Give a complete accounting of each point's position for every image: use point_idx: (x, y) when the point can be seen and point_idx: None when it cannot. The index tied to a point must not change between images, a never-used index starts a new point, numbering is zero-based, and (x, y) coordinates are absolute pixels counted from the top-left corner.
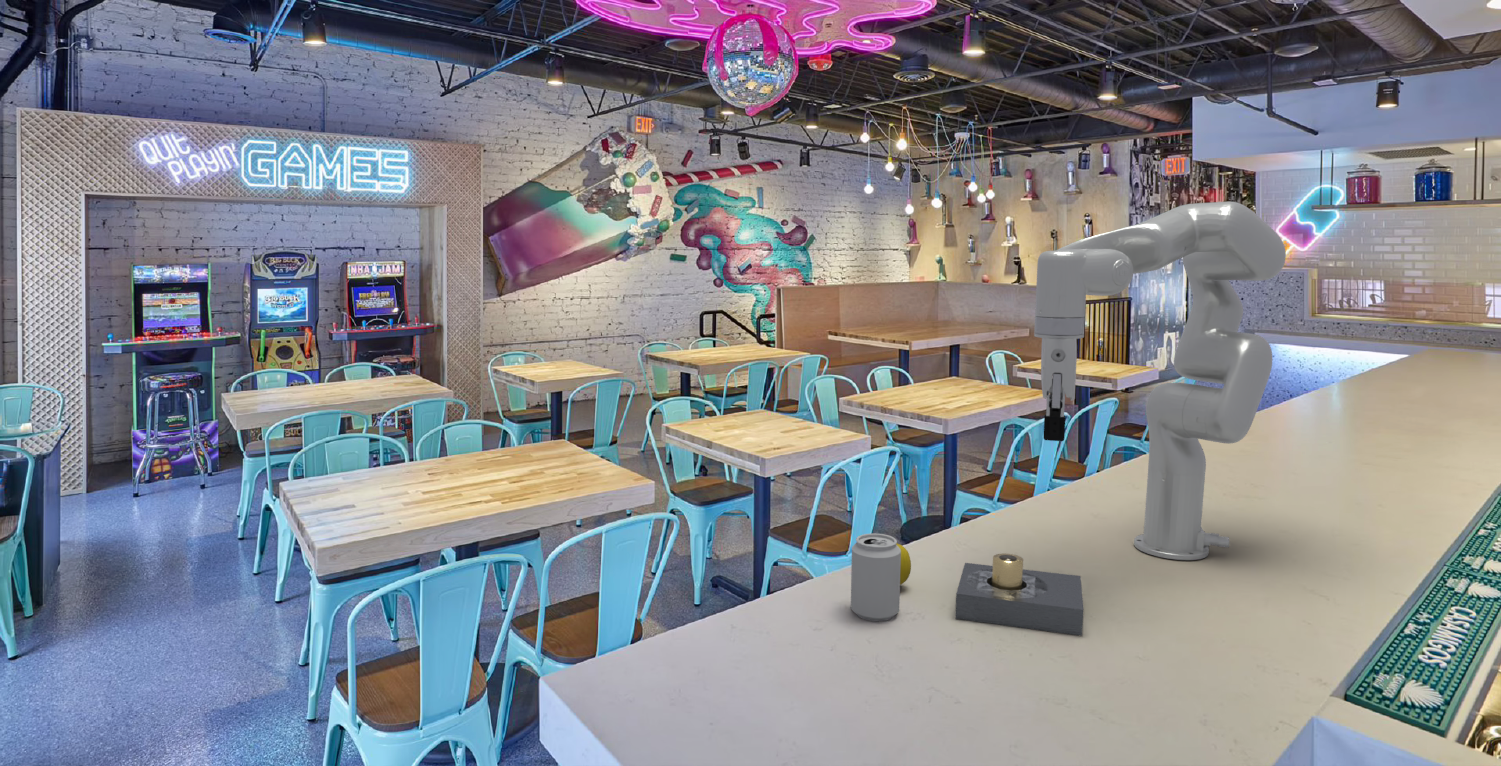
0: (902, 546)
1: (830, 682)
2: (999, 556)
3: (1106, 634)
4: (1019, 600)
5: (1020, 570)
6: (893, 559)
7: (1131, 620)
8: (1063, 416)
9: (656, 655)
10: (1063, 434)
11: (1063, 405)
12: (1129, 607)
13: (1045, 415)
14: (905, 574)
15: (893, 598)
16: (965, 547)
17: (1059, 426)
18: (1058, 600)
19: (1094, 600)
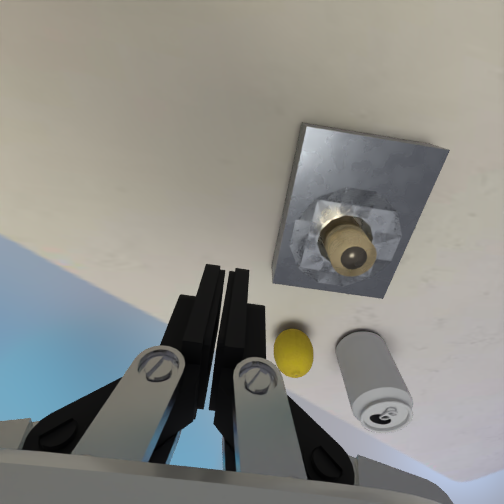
0: (295, 364)
1: (496, 369)
2: (345, 268)
3: (426, 106)
4: (408, 232)
5: (366, 236)
6: (406, 389)
7: (378, 50)
8: (277, 369)
9: (433, 452)
10: (246, 286)
11: (295, 451)
12: (325, 39)
13: (195, 413)
14: (307, 338)
15: (386, 350)
16: (125, 255)
17: (265, 334)
18: (411, 181)
19: (301, 97)
